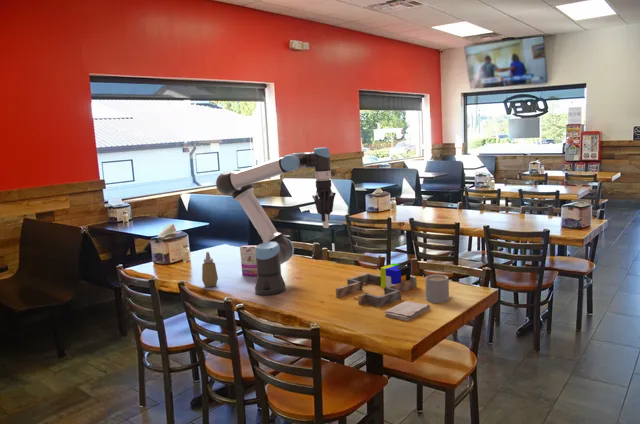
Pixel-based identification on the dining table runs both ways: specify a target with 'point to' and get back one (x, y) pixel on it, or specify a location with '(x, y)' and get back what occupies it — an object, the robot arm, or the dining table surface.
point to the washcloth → (407, 310)
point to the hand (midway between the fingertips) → (325, 227)
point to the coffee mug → (437, 288)
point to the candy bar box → (248, 260)
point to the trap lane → (390, 292)
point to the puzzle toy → (394, 274)
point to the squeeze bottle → (209, 272)
